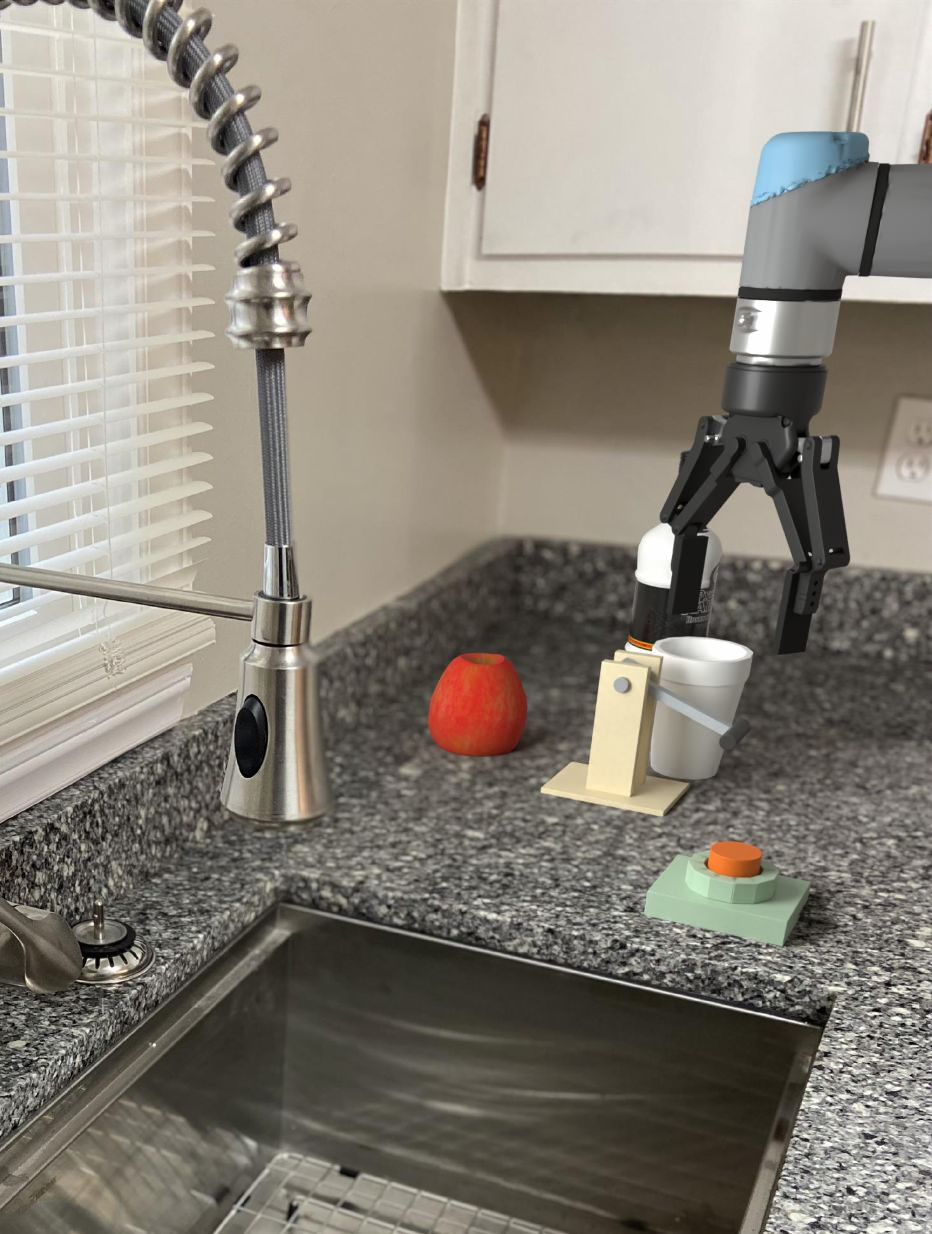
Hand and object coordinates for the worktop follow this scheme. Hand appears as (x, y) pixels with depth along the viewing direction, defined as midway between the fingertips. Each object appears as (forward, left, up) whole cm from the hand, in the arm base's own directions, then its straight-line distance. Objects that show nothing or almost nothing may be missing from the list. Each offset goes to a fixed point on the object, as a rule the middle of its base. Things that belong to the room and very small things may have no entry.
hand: (732, 632), depth 124 cm
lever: (+6, -10, -11) cm, 16 cm away
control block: (-5, +11, -20) cm, 24 cm away
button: (-5, +11, -16) cm, 21 cm away
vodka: (+13, -30, -20) cm, 38 cm away
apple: (+28, -16, -20) cm, 38 cm away
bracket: (+11, -10, -20) cm, 25 cm away
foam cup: (+7, -20, -20) cm, 29 cm away
